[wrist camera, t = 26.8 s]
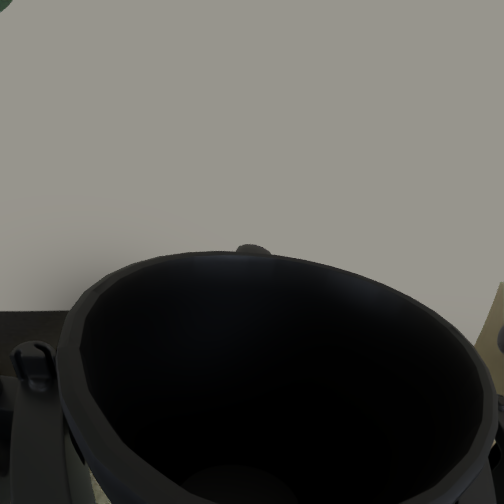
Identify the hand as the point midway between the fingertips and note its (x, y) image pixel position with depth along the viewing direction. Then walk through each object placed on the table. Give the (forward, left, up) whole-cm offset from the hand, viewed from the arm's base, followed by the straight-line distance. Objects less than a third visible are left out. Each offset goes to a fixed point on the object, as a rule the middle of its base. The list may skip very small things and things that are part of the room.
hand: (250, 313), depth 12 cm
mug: (-5, +1, -6) cm, 8 cm away
